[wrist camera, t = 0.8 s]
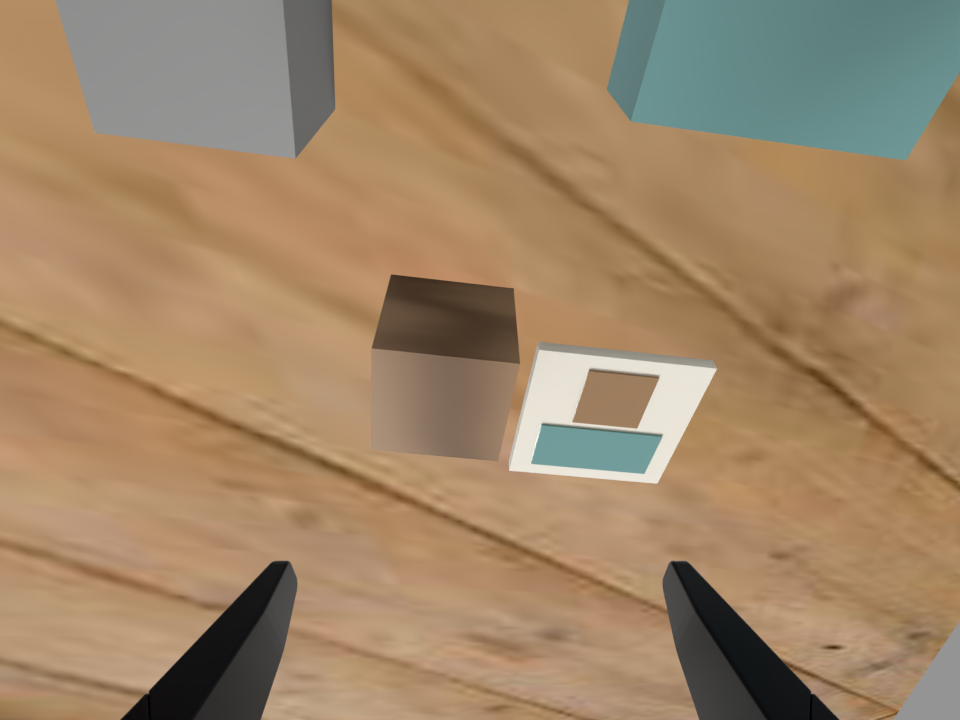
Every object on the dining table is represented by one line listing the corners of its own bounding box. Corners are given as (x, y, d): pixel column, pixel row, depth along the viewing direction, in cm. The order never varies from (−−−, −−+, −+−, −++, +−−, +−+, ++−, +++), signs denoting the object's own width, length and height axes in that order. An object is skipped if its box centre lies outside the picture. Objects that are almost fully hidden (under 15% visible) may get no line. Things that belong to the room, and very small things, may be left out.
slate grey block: (180, 87, 18) (94, 133, 14) (140, -115, 15) (16, -131, 11) (335, 108, 18) (295, 158, 14) (329, -84, 15) (275, -88, 11)
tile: (508, 461, 29) (509, 472, 28) (537, 341, 24) (539, 351, 23) (654, 474, 29) (657, 485, 29) (712, 360, 25) (717, 370, 24)
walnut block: (388, 368, 25) (370, 449, 21) (391, 273, 22) (371, 348, 18) (495, 379, 25) (498, 461, 22) (513, 287, 22) (520, 364, 18)
